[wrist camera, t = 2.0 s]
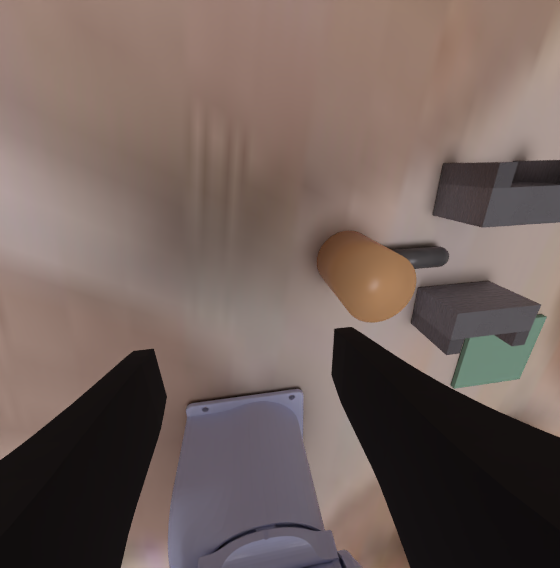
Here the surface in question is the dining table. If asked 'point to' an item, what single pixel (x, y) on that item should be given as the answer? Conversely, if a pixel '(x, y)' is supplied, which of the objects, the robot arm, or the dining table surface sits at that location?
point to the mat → (493, 358)
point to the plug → (373, 273)
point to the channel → (487, 213)
